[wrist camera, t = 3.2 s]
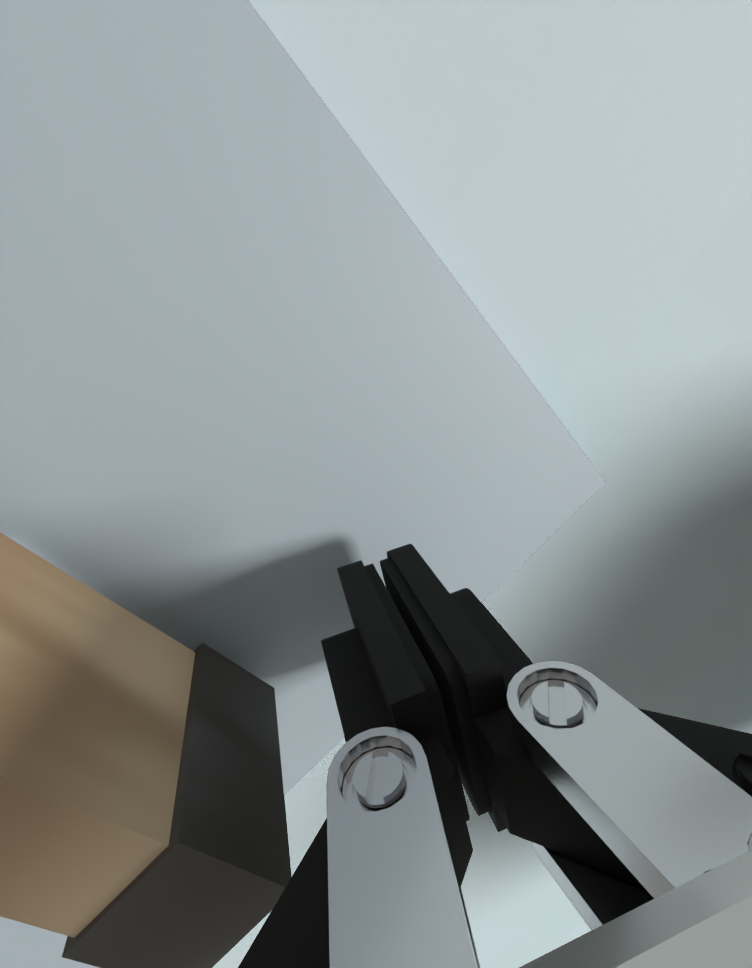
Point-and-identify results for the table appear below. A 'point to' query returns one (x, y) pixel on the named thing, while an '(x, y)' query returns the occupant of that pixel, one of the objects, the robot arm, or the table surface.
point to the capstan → (130, 780)
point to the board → (237, 357)
